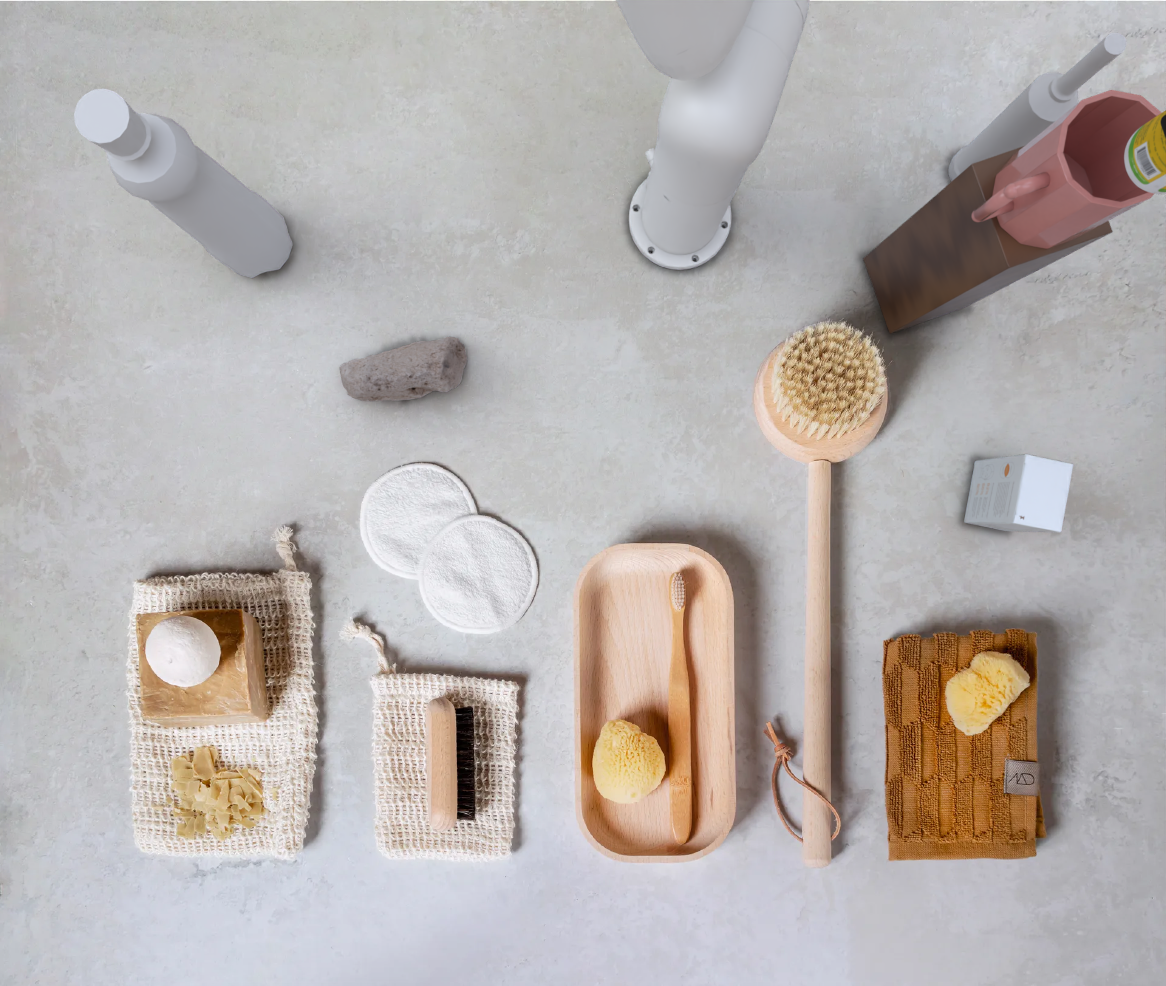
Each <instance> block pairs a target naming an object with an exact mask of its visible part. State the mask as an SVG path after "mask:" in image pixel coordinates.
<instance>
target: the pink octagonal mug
mask: <svg viewBox="0 0 1166 986" xmlns="http://www.w3.org/2000/svg"><path fill="white" fill-rule="evenodd" d="M1162 112H1163V111H1161V110H1160V109H1158V108H1157V107H1156V106H1155V105H1154V104H1152V103H1151V102H1150V101H1149V100H1147V98H1145V97H1144V96H1143V95H1141V94H1137V93H1130V92H1126V91H1121V90H1115V89H1109V90H1106V91H1104V92H1101V93H1097V94H1094V95H1092V96H1089V97H1085V98H1082V99H1081V100H1080V101H1078V104H1076V105H1075V106H1074V107H1073V108H1071V109H1070V110H1069V111H1068V112H1066V113H1065V114H1064V115H1063V116H1061V117H1060V118H1059V119H1058V120H1056V121H1055V122H1054V123H1053V124H1051V125H1050V126H1049V127H1048V128H1046V129H1045V130H1044V131H1043V132H1041V133H1040V134H1039V135H1038V136H1037V137H1035V138H1034V139H1033V140H1032V141H1030V142H1029V143H1028V144H1027V145H1025V146H1024V147H1023V148H1022V149H1020V150H1019V151H1018V152H1017V153H1015V154H1014V155H1013V156H1012V157H1011V158H1010V159H1009V161H1008V162H1007V163H1006V164H1005V165H1004V166H1003V168H1002V169H1001V170H1000V171H999V172H998V173H997V175H996V178H995V184H994V189H993V195H992V197H991V198H990V199H988V200H987V201H986V202H984V203H983V204H982V205H980V206H979V207H978V208H976V209H975V210H974V211H973V212H972V215H971V218H972V220H973V221H974V222H982V221H985V220H987V219H990V218H993V217H996V216H997V219H998V222H999V224H1000V226H1001V228H1003V229H1004V230H1005V231H1006V232H1007V233H1008V234H1010V235H1011V236H1012V237H1013V238H1014V239H1015V240H1017V241H1018V242H1019V243H1020V244H1023V245H1029V246H1034V247H1039V248H1044V249H1049V248H1052V247H1054V246H1057V245H1060V244H1063V243H1066V242H1069V241H1072V240H1074V239H1075V238H1077V237H1079V236H1081V235H1083V234H1085V233H1087V232H1088V231H1090V230H1092V229H1094V228H1096V227H1098V226H1100V225H1102V224H1103V223H1105V222H1107V221H1109V222H1110V220H1112V219H1115V218H1116V217H1118V216H1121V215H1122V214H1124V213H1126V212H1128V211H1129V210H1131V209H1133V208H1135V207H1137V206H1139V205H1140V204H1143V203H1144V202H1147V201H1148V200H1150V199H1151V198H1152V197H1153V196H1154V195H1155V194H1154V193H1150V192H1147V191H1144V190H1142V189H1141V188H1139V187H1138V186H1136V185H1135V184H1134V183H1133V181H1132V180H1131V179H1130V177H1129V175H1128V173H1127V171H1126V168H1125V163H1124V153H1125V148H1126V145H1127V143H1128V141H1129V139H1130V138H1131V136H1132V135H1133V134H1134V133H1135V132H1136V131H1137V130H1138V129H1139V128H1140V127H1141V126H1143V125H1144V124H1146V123H1147V122H1149V121H1150V120H1152V119H1153V118H1155V117H1156V116H1158V115H1159V114H1161V113H1162Z"/></svg>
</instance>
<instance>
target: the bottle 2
mask: <svg viewBox="0 0 1166 986" xmlns="http://www.w3.org/2000/svg"><path fill="white" fill-rule="evenodd" d="M1126 49H1127V38H1126V37H1125V36H1124V35H1123V34H1122V33H1120V32H1111V33H1109V34H1107V35H1106V36H1104V37H1103V39H1101V40H1100V42H1098V43H1097V44H1096V45H1095V46H1093V48H1092V49H1091V50H1090V51H1089V52H1088V53H1087V54H1085V56H1083V57H1082V58H1081V59H1080V60H1078V62H1077V63H1075V64H1074V65H1073V66H1072V67H1071V68H1070V69H1068V70H1067V71H1066V72H1065V73H1062V72H1059V71H1047V72H1045V73H1042V74H1041V75H1038V76H1037V77H1036V78H1035V79H1034V80H1033V81H1032V82H1031V83H1030V84H1029V85H1028V86H1027V87H1026V88H1025V89H1024V90H1023V91H1022V92H1020V94H1019V95H1018V96H1017V97H1015V99H1013V100H1012V102H1011V103H1010V104H1009V105H1008V106H1006V107H1005V109H1004V110H1002V112H1000V113H999V114H998V115H997V116H996V117H995V118H994V119H993V120H992V121H991V122H990V123H989V124H988V125H987V126H986V127H985V128H984V129H983V130H982V131H981V132H979V134H978V135H977V136H976V137H974V138H973V140H972V141H970V143H969V144H967V145H965V146H963V147H961V148H960V149H959V150H958V151H957V152H956V154H954V155H953V157H952V158H951V160H950V163H949V165H948V168H947V169H948V171H947V172H948V177H949V180H950V182H952V181H953V180H954V179H955V178H956V177H957V176H959V175H960V174H961V173H962V172H963V171H964V170H965V169H967V168H968V167H969V166H970V165H971V164H973V163H976V162H979V161H982V160H985V159H988V158H991V157H993V156H996V155H999V154H1002V153H1005V152H1008V151H1011V150H1014V149H1017V148H1019V147H1022V146H1025V145H1027V144H1028V143H1029V142H1030V141H1032V140H1033V139H1034V138H1035V137H1037V136H1038V135H1039V134H1040V133H1041V132H1043V131H1044V130H1045V129H1046V128H1048V127H1049V126H1050V125H1051V124H1053V123H1054V122H1055V121H1056V120H1058V119H1059V118H1060V117H1061V116H1063V115H1064V114H1065V113H1066V112H1068V111H1069V110H1070V109H1071V108H1073V107H1074V106H1075V105H1076V104H1078V103H1079V102H1080V101H1079V89H1080V88H1081V87H1082V86H1083V85H1085V84H1086V83H1087V82H1088V81H1089V80H1090V79H1092V78H1093V77H1094V76H1095V75H1096V74H1097V73H1098V72H1100V71H1101V70H1102V69H1103V68H1105V67H1106V66H1108V65H1109V64H1110V63H1111V62H1113V61H1114V60H1115V59H1116V58H1118V57H1119V56H1120V55H1121V54H1122V53H1124V51H1125V50H1126Z"/></svg>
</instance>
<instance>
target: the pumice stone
mask: <svg viewBox="0 0 1166 986" xmlns="http://www.w3.org/2000/svg"><path fill="white" fill-rule="evenodd" d="M467 363H468V356H467V351H466V347H465V345H464V344H463V343H462V342H461V341H460V339H459V337H454V336H445V337H442V338H439V339H434V340H429V341H428V340H417V341H413V342H411V343H409V344H405V345H404V344H403V345H402V346H399V347H395V348H392V349H390V350H383V352H379V353H376V354H370V355H367V356H366V357H363V358H354V359H351V360H349V361H347V362H343V363H341V364H340V366H339V374H340V375H339V376H340V381H341V384H342V387H343V388H344V390H346V393H347V396H349V397H350V398H351V399H353V400H356V401H362V402H375V401H376V402H383V401H392V402H393V401H394V402H396V401H405V400H406V401H407V400H408V401H410V400H414V399H415V400H416V399H421V398H423V397H425V396H426V395H428V394H431V393H432V392H433V391H434V392H435V391H436V392H439V393H447V392H450V391H451V390H453V389H456V388H457V387H459V386H460V384H461V383H462V378H463V376H464V370H465V367H466V365H467Z"/></svg>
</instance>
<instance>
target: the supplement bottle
mask: <svg viewBox="0 0 1166 986" xmlns="http://www.w3.org/2000/svg"><path fill="white" fill-rule="evenodd" d="M1161 112H1162V113H1161V114H1159V115H1158V116H1156V117H1155V118H1153V119H1152V120H1150V121H1149V122H1147V123H1146V124H1144V125H1143V126H1141V127H1140V128H1139V129H1138V130H1137V131H1136V132H1135V133H1134V134H1133V135H1132V136H1131V138H1130V139H1129V141H1128V143H1127V145H1126V148H1125V153H1124V163H1125V168H1126V171H1127V173H1128V175H1129V177H1130V179H1131V180H1132V181H1133V183H1134V184H1135V185H1136V186H1138V187H1139V188H1141V189H1142V190H1144V191H1147V192H1150V193H1154V195H1166V138H1165V135H1164V132H1163V130H1162V127H1161V123H1160V122H1161V118H1162V117H1163V116H1164V115H1166V109H1165V110H1164V111H1161Z"/></svg>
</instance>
